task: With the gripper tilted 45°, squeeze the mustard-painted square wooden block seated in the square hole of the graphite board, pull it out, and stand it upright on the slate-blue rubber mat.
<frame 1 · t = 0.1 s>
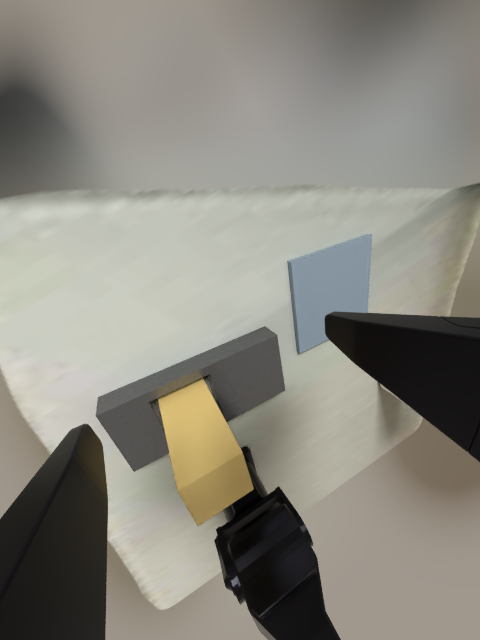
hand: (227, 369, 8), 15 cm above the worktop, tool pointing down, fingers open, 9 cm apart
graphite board: (184, 394, 26), on the worktop
mustard block: (184, 394, 26), resting in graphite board
slate mat: (331, 294, 30), on the worktop
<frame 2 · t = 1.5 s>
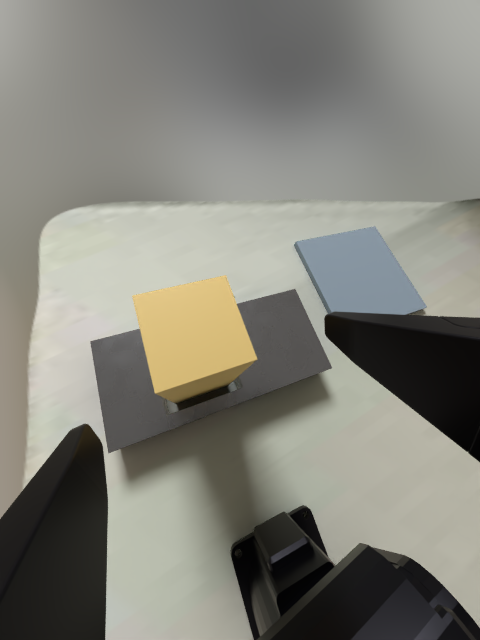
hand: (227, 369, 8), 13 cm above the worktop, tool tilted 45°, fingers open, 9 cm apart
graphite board: (195, 368, 21), on the worktop
mustard block: (195, 368, 21), resting in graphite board
slate mat: (358, 276, 28), on the worktop
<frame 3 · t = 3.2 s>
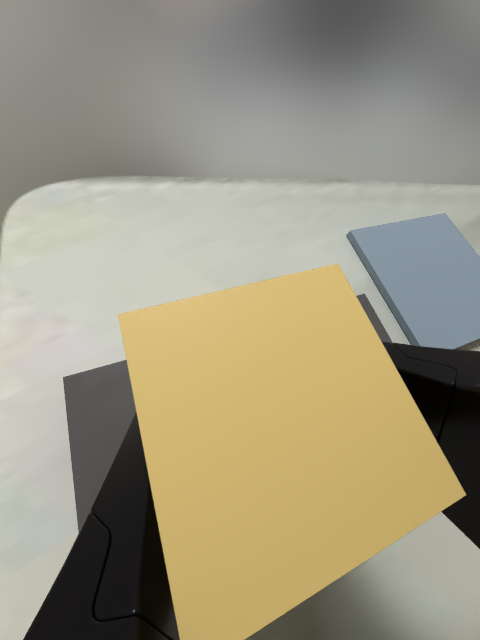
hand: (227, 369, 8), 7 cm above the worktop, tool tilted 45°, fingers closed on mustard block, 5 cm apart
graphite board: (224, 411, 14), on the worktop
mustard block: (224, 411, 14), resting in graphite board, touching gripper
slate mat: (432, 277, 21), on the worktop
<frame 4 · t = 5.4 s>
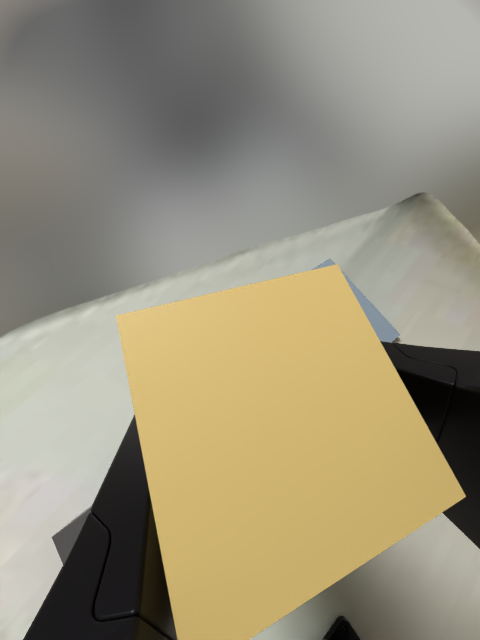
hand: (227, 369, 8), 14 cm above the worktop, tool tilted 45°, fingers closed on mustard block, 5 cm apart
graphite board: (186, 499, 18), on the worktop
mustard block: (224, 412, 14), point 8 cm above the worktop, touching gripper
slate mat: (327, 321, 27), on the worktop
when the fingers open (9 cm above the worktop, at t = 7.9 s): mustard block drops 1 cm, resting on slate mat.
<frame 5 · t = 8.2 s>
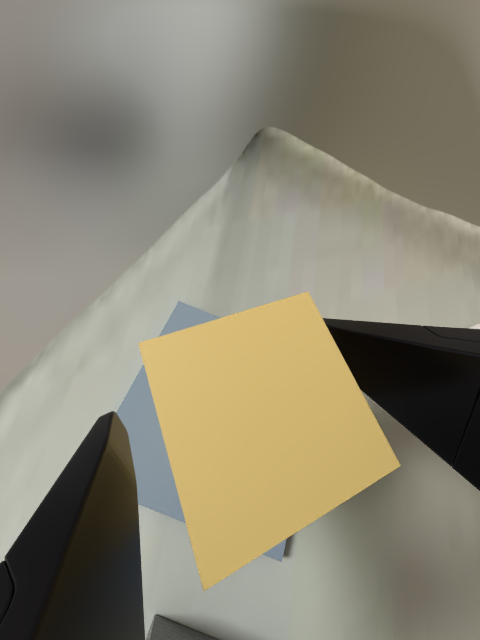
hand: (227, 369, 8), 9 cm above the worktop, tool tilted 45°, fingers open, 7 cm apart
mustard block: (222, 411, 15), point 1 cm above the worktop, touching slate mat
slate mat: (221, 411, 16), on the worktop
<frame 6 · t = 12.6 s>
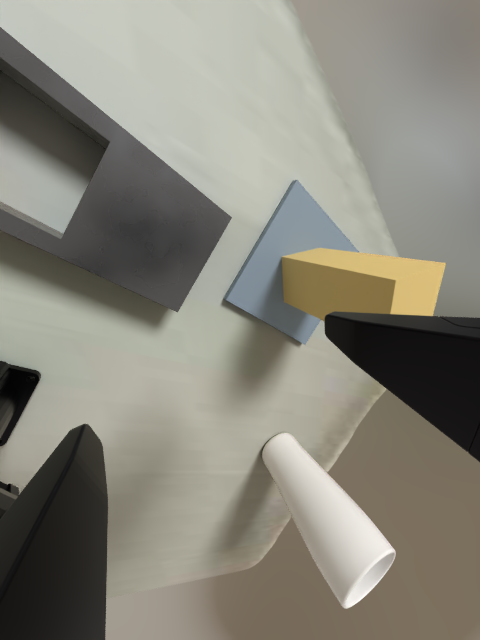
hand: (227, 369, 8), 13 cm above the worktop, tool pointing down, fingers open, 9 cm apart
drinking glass: (275, 444, 34), on the worktop
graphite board: (33, 160, 14), on the worktop
mustard block: (301, 275, 24), point 1 cm above the worktop, touching slate mat
slate mat: (298, 274, 25), on the worktop
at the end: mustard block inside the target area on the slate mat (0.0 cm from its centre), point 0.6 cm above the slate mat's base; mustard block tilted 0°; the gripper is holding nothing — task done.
